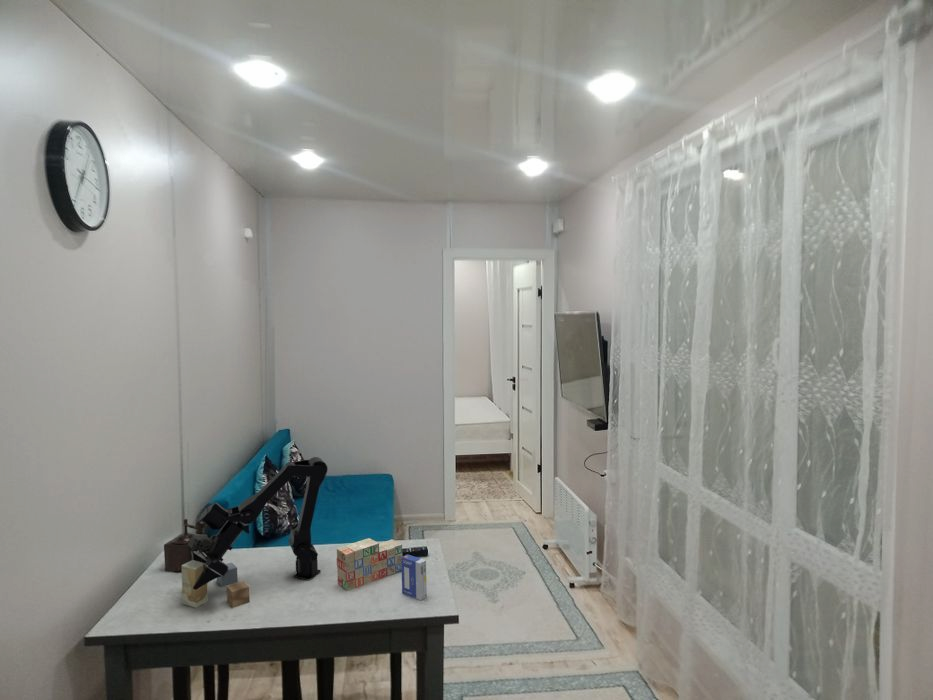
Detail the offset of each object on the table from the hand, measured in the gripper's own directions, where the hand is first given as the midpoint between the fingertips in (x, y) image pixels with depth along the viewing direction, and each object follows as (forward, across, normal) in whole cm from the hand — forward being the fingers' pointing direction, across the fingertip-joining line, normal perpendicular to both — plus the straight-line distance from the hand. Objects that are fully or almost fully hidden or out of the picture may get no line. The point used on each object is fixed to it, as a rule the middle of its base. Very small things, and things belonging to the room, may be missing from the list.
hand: (189, 583), depth 172 cm
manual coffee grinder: (-1, -28, +11) cm, 30 cm away
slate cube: (-5, -8, +14) cm, 17 cm away
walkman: (-33, +41, +43) cm, 68 cm away
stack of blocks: (-30, +22, +40) cm, 55 cm away
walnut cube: (-3, +8, +13) cm, 16 cm away
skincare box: (+4, 0, +6) cm, 7 cm away
